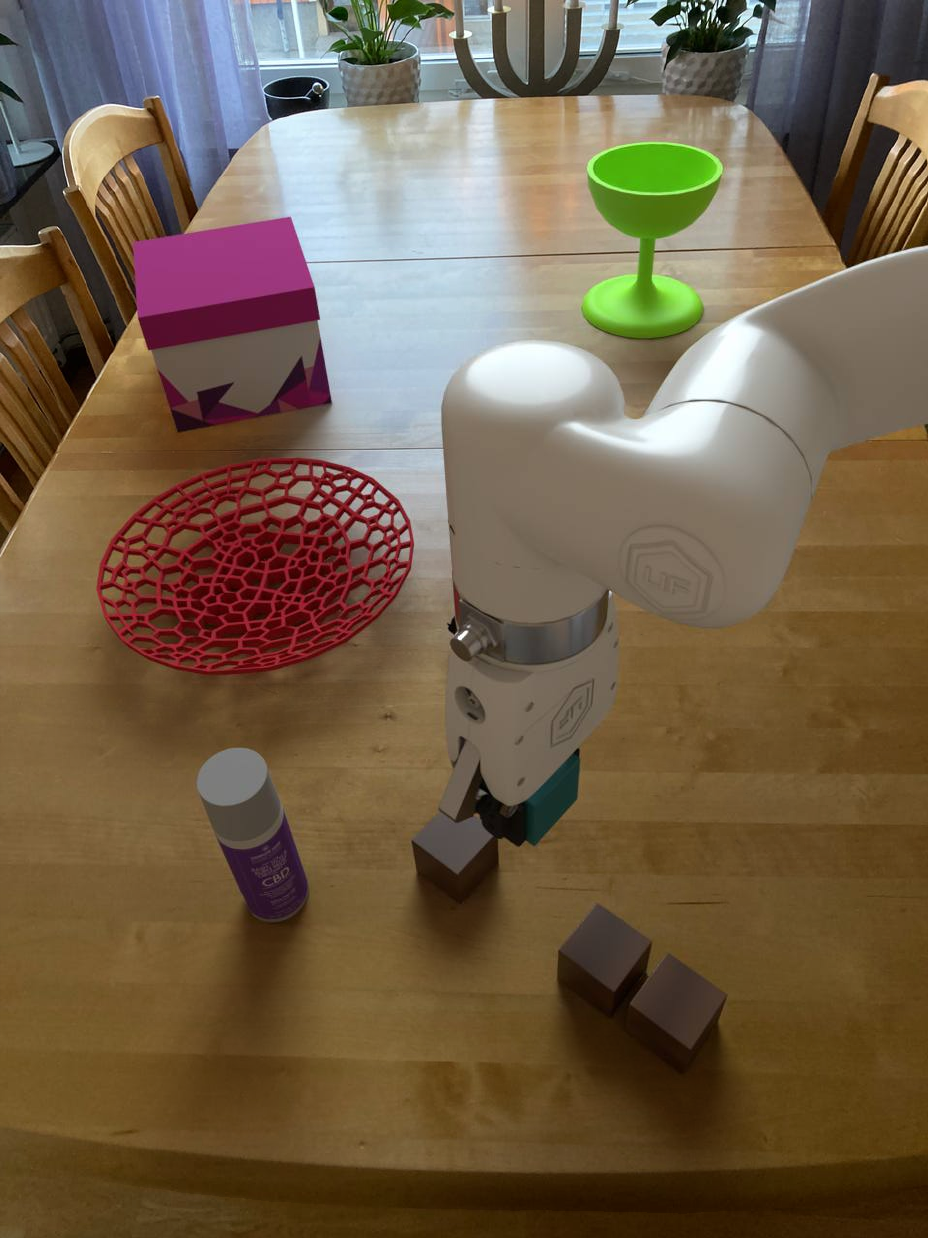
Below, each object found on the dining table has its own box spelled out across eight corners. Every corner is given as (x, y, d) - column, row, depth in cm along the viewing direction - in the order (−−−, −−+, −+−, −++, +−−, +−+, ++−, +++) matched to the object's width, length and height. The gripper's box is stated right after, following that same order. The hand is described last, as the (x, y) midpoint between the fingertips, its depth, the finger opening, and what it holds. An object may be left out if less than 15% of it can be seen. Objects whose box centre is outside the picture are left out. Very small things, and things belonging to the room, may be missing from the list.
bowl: (61, 696, 86) (41, 658, 82) (175, 488, 106) (163, 451, 102) (385, 722, 82) (379, 684, 78) (440, 502, 102) (436, 463, 98)
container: (284, 933, 69) (238, 819, 58) (232, 905, 71) (178, 789, 60) (321, 880, 72) (284, 762, 61) (271, 855, 74) (226, 735, 63)
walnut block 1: (499, 863, 72) (497, 831, 69) (460, 905, 70) (457, 875, 67) (454, 831, 74) (451, 799, 71) (416, 871, 72) (411, 840, 69)
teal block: (577, 799, 60) (581, 757, 57) (534, 847, 58) (535, 807, 55) (522, 762, 62) (522, 720, 59) (478, 807, 60) (476, 766, 57)
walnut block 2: (647, 970, 66) (652, 941, 63) (610, 1020, 64) (614, 993, 61) (594, 932, 68) (597, 901, 65) (556, 979, 66) (557, 950, 63)
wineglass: (568, 329, 125) (572, 188, 112) (596, 272, 135) (603, 137, 122) (693, 344, 121) (712, 200, 108) (711, 284, 131) (731, 146, 118)
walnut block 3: (718, 1022, 63) (728, 994, 60) (682, 1076, 61) (690, 1050, 58) (660, 980, 65) (667, 951, 62) (624, 1031, 63) (629, 1004, 60)
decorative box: (311, 328, 129) (290, 216, 118) (334, 404, 116) (314, 286, 105) (167, 353, 126) (133, 241, 115) (175, 435, 113) (137, 317, 102)
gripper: (477, 743, 41) (488, 939, 54) (691, 535, 49) (655, 748, 63) (353, 660, 45) (391, 862, 58) (572, 479, 53) (562, 692, 66)
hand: (529, 801), depth 60 cm, fingers closed on teal block, 4 cm apart
